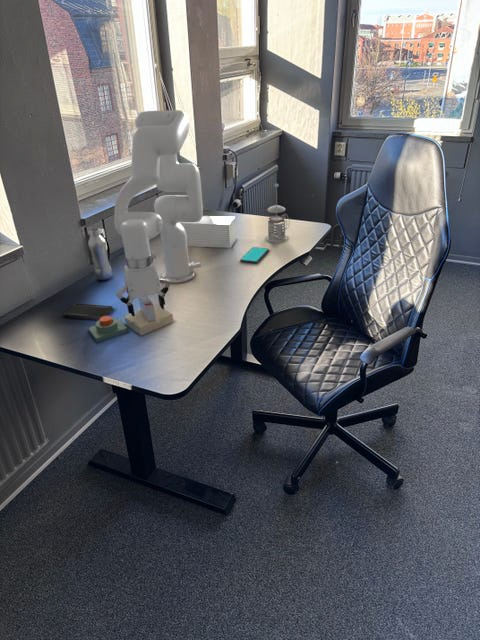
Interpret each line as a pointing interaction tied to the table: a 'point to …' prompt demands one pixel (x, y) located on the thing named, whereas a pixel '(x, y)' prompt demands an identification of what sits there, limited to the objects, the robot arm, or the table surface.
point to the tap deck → (143, 325)
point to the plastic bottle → (99, 255)
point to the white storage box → (211, 232)
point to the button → (105, 320)
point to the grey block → (147, 308)
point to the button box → (107, 330)
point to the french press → (276, 219)
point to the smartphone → (254, 255)
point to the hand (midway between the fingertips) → (147, 310)
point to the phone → (88, 311)
